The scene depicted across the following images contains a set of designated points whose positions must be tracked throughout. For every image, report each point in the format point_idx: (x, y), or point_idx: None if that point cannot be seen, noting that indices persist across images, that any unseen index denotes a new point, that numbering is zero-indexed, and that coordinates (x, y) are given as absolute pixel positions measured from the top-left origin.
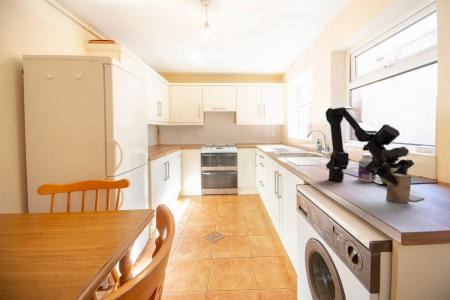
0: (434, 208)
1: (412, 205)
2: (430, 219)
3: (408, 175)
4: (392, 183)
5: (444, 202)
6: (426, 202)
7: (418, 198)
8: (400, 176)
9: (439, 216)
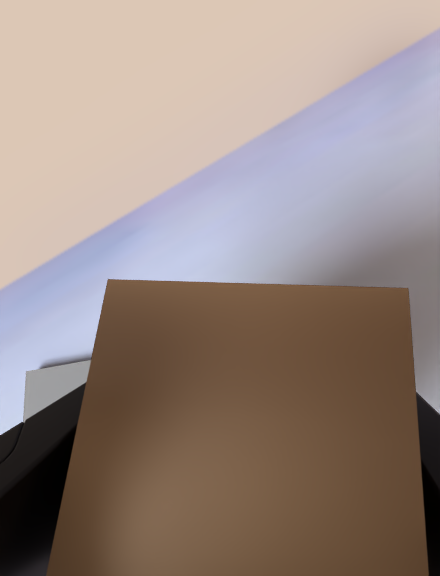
0: (187, 223)
1: None
2: (419, 96)
3: (102, 335)
4: None
5: (3, 291)
6: (99, 317)
7: (81, 371)
8: (406, 296)
9: (311, 126)
